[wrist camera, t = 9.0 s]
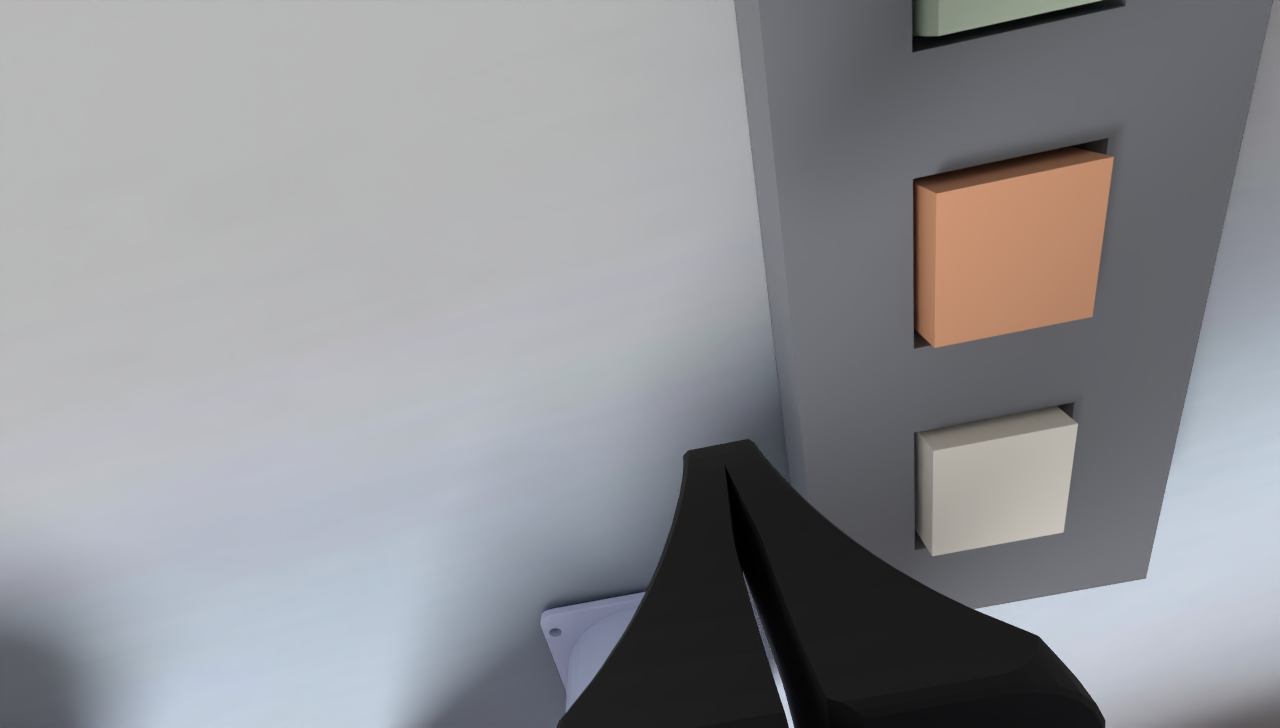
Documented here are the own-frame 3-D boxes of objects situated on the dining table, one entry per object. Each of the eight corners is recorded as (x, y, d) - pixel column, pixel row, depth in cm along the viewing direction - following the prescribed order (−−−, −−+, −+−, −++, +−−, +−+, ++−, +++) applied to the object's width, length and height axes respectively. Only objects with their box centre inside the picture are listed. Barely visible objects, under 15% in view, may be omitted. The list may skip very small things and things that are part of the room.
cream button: (1010, 474, 25) (1063, 532, 22) (894, 496, 25) (932, 556, 22) (1018, 374, 23) (1078, 423, 20) (892, 399, 23) (933, 451, 20)
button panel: (1091, 523, 26) (1145, 578, 24) (800, 576, 27) (822, 635, 24) (1248, -471, 14) (1403, -593, 11) (695, -333, 14) (716, -416, 12)
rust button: (1025, 278, 21) (1092, 316, 18) (890, 305, 21) (934, 347, 18) (1037, 138, 19) (1113, 156, 16) (887, 170, 19) (936, 193, 16)
